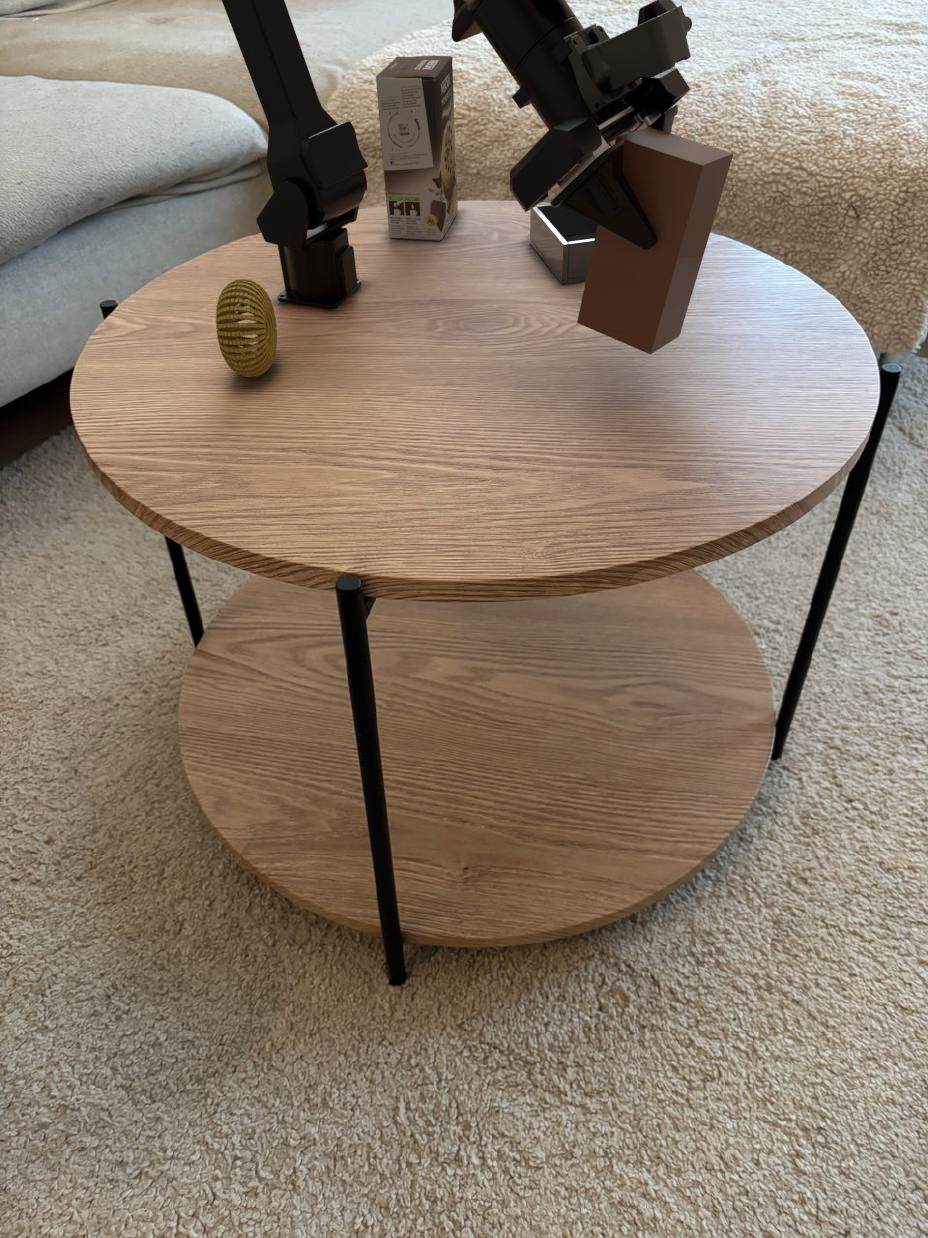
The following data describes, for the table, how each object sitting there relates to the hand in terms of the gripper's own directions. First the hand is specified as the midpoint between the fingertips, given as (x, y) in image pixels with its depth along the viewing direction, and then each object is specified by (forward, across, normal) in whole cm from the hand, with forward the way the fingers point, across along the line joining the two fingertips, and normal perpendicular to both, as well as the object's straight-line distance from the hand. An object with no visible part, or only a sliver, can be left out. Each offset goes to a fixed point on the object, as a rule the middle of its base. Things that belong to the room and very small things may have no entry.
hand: (668, 232), depth 68 cm
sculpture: (-13, -15, +31) cm, 37 cm away
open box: (-2, +22, +20) cm, 30 cm away
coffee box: (-17, +20, +35) cm, 44 cm away
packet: (+4, -1, +7) cm, 8 cm away
